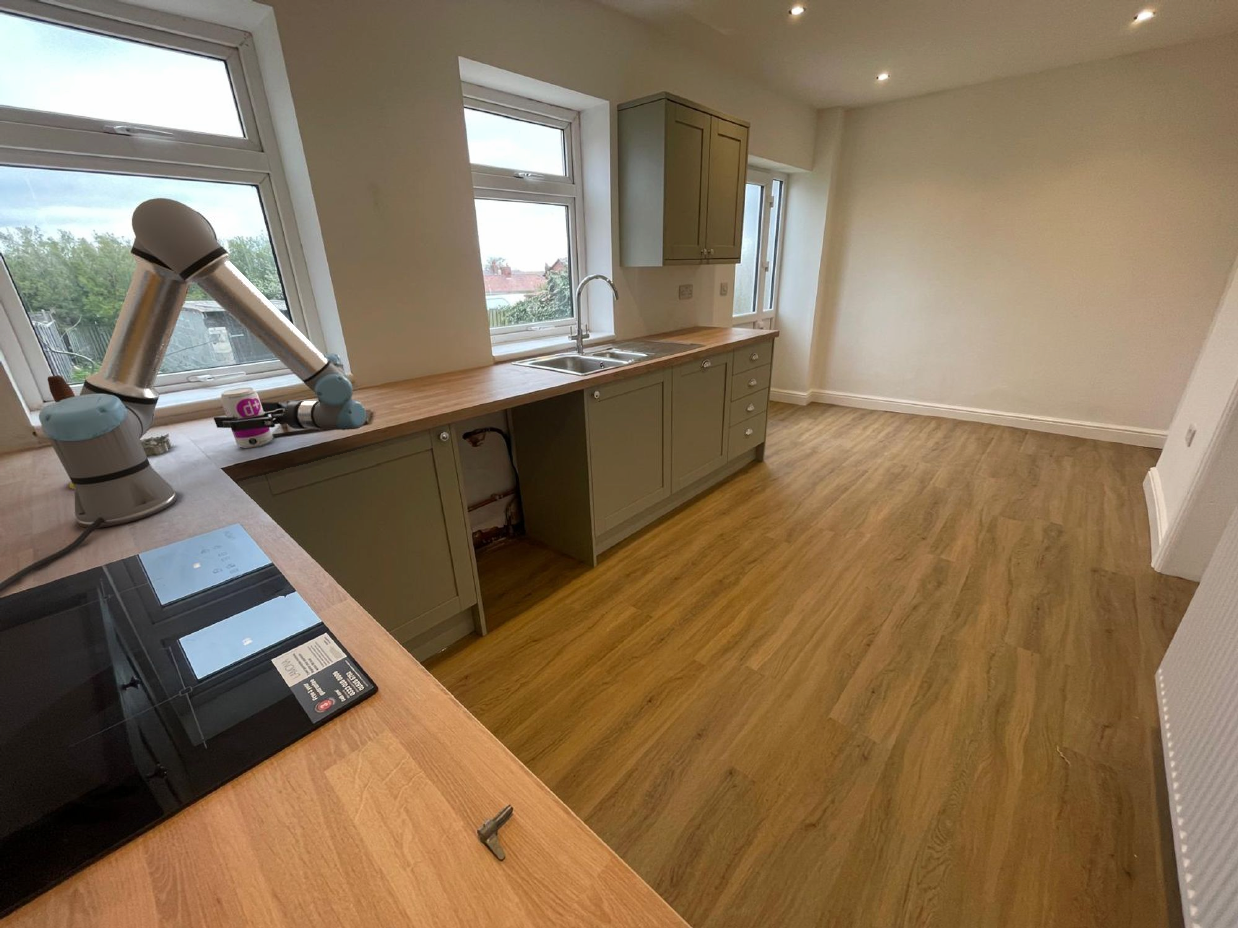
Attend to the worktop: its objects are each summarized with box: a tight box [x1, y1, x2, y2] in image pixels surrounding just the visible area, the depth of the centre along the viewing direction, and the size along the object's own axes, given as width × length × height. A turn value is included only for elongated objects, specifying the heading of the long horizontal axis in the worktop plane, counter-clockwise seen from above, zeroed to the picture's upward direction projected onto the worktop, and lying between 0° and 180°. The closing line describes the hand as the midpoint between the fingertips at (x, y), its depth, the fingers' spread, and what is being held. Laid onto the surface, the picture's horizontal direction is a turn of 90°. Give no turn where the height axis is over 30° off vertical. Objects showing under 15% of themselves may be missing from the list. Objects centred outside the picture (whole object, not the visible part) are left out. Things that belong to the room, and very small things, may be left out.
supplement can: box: [219, 387, 273, 449], centre depth 137 cm, size 8×8×15 cm
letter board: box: [271, 397, 372, 438], centre depth 152 cm, size 13×25×8 cm, turn 111°
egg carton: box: [139, 433, 173, 457], centre depth 136 cm, size 11×8×4 cm
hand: (238, 414), depth 137 cm, fingers open, 13 cm apart
